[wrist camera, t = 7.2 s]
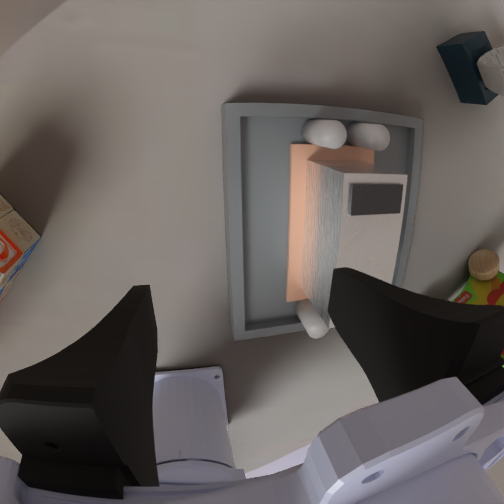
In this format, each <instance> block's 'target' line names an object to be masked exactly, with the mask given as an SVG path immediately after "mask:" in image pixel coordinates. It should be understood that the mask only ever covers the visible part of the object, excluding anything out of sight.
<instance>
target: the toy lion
mask: <svg viewBox="0 0 504 504" xmlns="http://www.w3.org/2000/svg"><path fill="white" fill-rule="evenodd" d="M468 266H469V272H470V276H469V279H468V282H467V284H466V286H465V287H464V289H463V290H462V292H461V293H460V294H459V295H458V296H457V297H456V298H455V299H454V300H453V301H452V302H456V303H464V304H474V305H501V306H504V274H503V273H502V272H500V271H499V257H498V255H497V254H496V253H495V252H494V251H492V250H489V249H481V250H477V251H475V252H474V253H473V254H472V255H471V256H470V258H469V260H468ZM501 357H502V358H503V359H504V350H503V352H502V354H501ZM503 367H504V365H503Z"/></svg>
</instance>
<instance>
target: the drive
mask: <svg viewBox="0 0 504 504" xmlns="http://www.w3.org/2000/svg"><path fill="white" fill-rule="evenodd" d="M407 176H408V175H406V174H403V173H400V172H397V171H394V170H391V169H388V168H384V167H381V166H378V165H374V164H371V163H368V162H364V161H354V160H307V162H306V197H305V222H304V242H303V260H302V277H301V289H302V291H303V292H304V293H305V295H306V296H307V298H308V299H309V301H310V302H311V304H312V305H313V306H314V308H315V309H316V311H317V312H318V314H319V315H320V317H321V318H322V320H323V321H324V323H325V324H326V325H327V327H328V328H334V327H335V326H334V324H333V322H332V320H331V318H330V316H329V313H328V311H327V310H328V304H329V297H330V290H331V282H332V275H333V268H343V267H348V268H352V269H355V270H358V271H360V272H363V273H366V274H368V275H370V276H373V277H375V278H378V279H380V280H382V281H385V282H387V283H390V284H392V279H393V274H394V269H395V263H396V258H397V252H398V246H399V240H400V234H401V227H402V220H403V212H404V204H405V196H406V186H407Z"/></svg>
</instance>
